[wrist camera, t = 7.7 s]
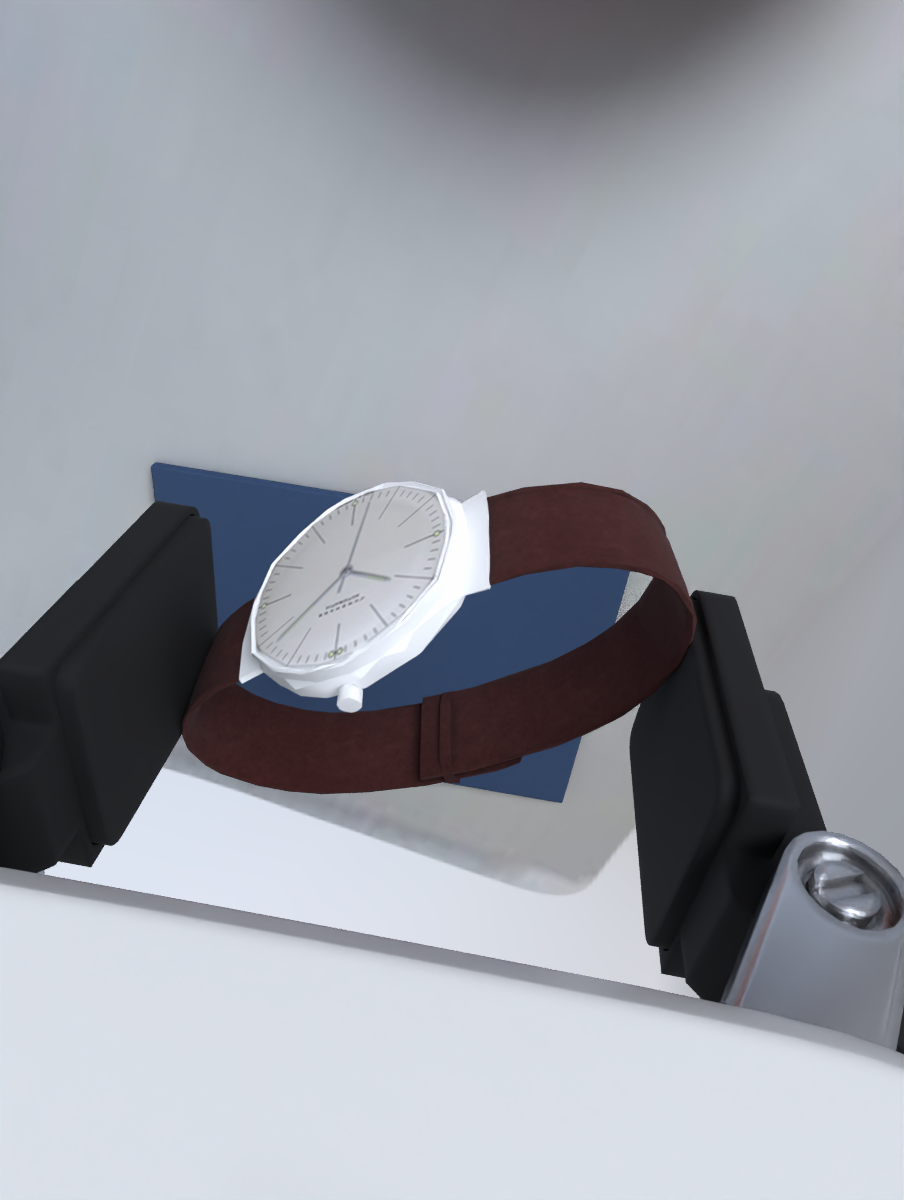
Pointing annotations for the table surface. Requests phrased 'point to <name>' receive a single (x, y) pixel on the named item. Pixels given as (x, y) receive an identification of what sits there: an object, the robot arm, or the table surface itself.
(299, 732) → the watch
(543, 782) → the mat
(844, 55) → the table surface
